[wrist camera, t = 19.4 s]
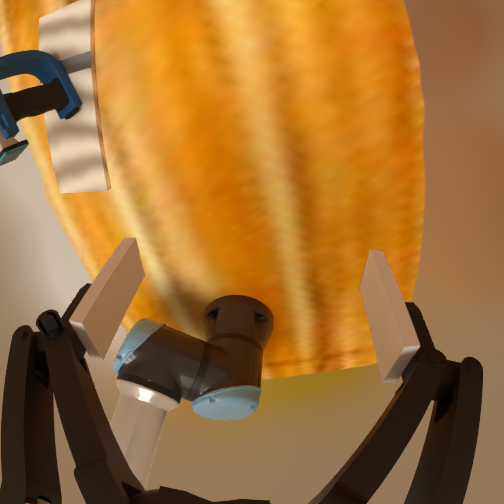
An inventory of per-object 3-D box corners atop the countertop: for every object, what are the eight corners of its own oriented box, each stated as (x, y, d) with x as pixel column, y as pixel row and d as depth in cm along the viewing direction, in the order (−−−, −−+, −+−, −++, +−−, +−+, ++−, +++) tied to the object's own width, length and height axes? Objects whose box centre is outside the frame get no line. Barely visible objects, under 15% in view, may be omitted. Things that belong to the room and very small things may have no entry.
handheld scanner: (72, 129, 41) (-5, 173, 25) (38, 61, 33) (-44, 82, 17) (89, 115, 40) (9, 155, 24) (54, 46, 32) (-31, 59, 16)
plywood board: (110, 188, 49) (107, 190, 48) (63, 190, 50) (59, 193, 49) (94, -3, 28) (90, -4, 27) (43, 18, 29) (38, 18, 28)
